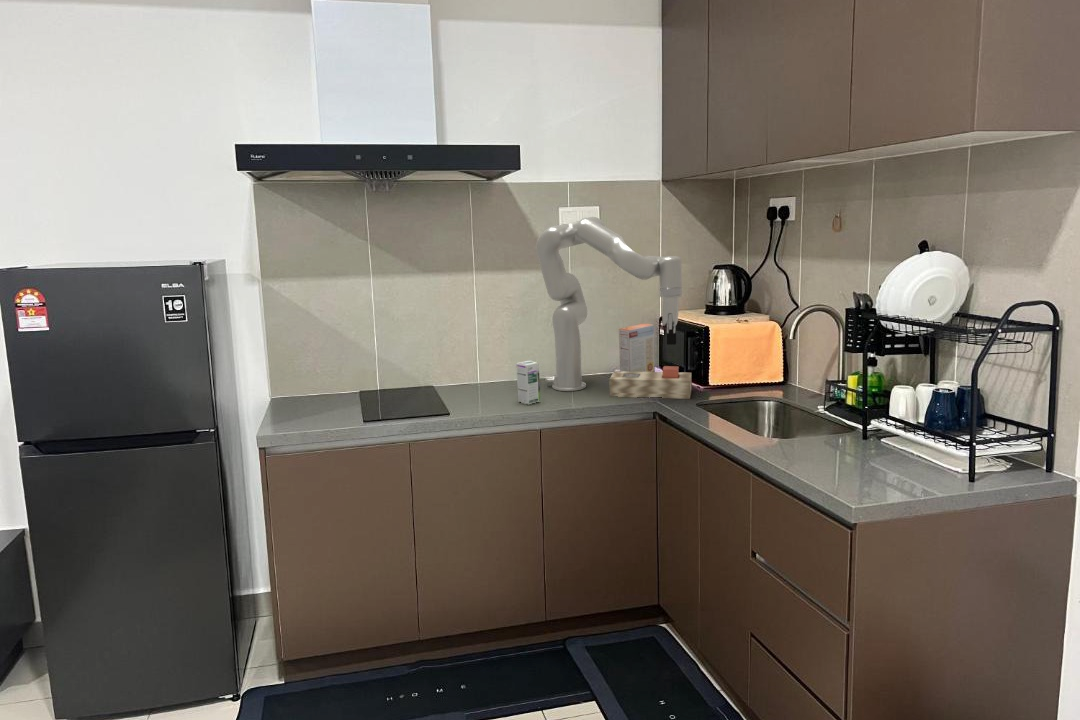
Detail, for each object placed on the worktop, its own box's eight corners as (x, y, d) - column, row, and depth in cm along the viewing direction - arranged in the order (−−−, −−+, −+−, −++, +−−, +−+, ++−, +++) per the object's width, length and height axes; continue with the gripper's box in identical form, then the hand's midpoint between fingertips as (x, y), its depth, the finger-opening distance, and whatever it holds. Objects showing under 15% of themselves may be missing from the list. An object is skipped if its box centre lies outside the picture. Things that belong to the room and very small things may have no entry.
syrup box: (528, 405, 272) (526, 364, 269) (517, 402, 277) (516, 362, 274) (541, 402, 276) (539, 362, 273) (530, 399, 280) (528, 359, 277)
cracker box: (643, 375, 309) (643, 322, 305) (655, 377, 305) (655, 324, 300) (619, 381, 300) (618, 327, 296) (630, 384, 296) (629, 329, 292)
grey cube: (623, 389, 281) (623, 377, 280) (625, 386, 286) (624, 373, 285) (637, 390, 280) (637, 377, 279) (639, 386, 285) (639, 373, 284)
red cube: (662, 382, 278) (662, 369, 277) (663, 378, 282) (663, 366, 281) (677, 382, 276) (677, 369, 275) (678, 379, 281) (678, 366, 280)
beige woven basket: (609, 396, 280) (609, 379, 278) (614, 388, 291) (614, 371, 290) (689, 398, 273) (690, 380, 272) (691, 390, 285) (691, 372, 283)
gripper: (661, 289, 281) (662, 340, 284) (658, 295, 266) (659, 348, 270) (682, 289, 279) (683, 340, 283) (680, 294, 265) (681, 348, 268)
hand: (671, 344), depth 276 cm, fingers closed
